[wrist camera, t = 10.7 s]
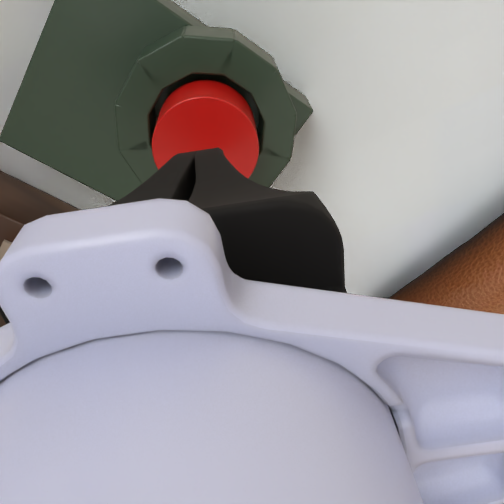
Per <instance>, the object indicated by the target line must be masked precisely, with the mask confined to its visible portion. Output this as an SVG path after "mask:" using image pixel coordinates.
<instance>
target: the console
mask: <svg viewBox="0 0 504 504" xmlns="http://www.w3.org/2000/svg"><path fill="white" fill-rule="evenodd" d="M72 211H79V209H77V208H75V207H73V206H71V205H69V204H67V203H65V202H63V201H61V200H59V199H57V198H55V197H53V196H51V195H49V194H47V193H44V192H42V191H40V190H38V189H36V188H34V187H32V186H30V185H28V184H26V183H24V182H22V181H20V180H18V179H16V178H14V177H12V176H10V175H8V174H6V173H4V172H2V171H0V261H1V259H2V258H3V256H4V255H5V253H6V252H7V250H8V249H9V247H10V246H11V244H12V242H13V241H14V239H15V238H16V236H17V235H18V233H19V232H20V230H21V229H22V227H23V226H24V225H25V224H28V223H30V222H32V221H35V220H37V219H39V218H42V217H44V216H46V215H52V214H59V213H65V212H72ZM4 325H6V323H5V321H4V320H3V318H2V316H1V315H0V327H2V326H4Z"/></svg>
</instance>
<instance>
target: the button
mask: <svg viewBox="0 0 504 504" xmlns="http://www.w3.org/2000/svg"><path fill="white" fill-rule="evenodd" d="M217 147H219V148H220V149H222V150H223V152H224V155H225V157H226V158H227V160H228V161H229V162H230V163H231V164H232V165H233V166H234V167H235V168H236V169H237V170H238V171H239V172H240V173H241V174H242V175H244V176H245V177H246V178H249V177H250V176H251V174H252V172H253V171H254V169H255V166H256V164H257V160H258V155H259V142H258V136H257V130H256V125H255V120H254V116H253V113H252V111H251V108H250V106H249V105H248V103H247V101H246V100H245V99H244V98H243V96H242V95H241V94H240V93H239V92H237V91H236V90H235V89H233V88H232V87H230V86H228V85H226V84H224V83H221V82H217V81H212V80H198V81H193V82H189V83H186V84H184V85H182V86H180V87H179V88H177V89H176V90H175V91H173V92H172V93H171V94H170V95H169V96H168V98H167V99H166V100H165V102H164V104H163V106H162V108H161V110H160V113H159V117H158V120H157V123H156V126H155V129H154V133H153V137H152V154H153V158H154V161H155V164H156V166H157V168H158V170H159V169H160V168H161V167H162V166H163V165H164V164H165V163H166V162H167V161H169V160H170V159H171V158H172V157H173V156H174V155H176V154H178V153H185V152H191V151H198V150H204V149H211V148H217Z"/></svg>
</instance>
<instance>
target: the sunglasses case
mask: <svg viewBox="0 0 504 504" xmlns="http://www.w3.org/2000/svg"><path fill="white" fill-rule="evenodd" d="M389 299H393V300H400V301H408V302H415V303H423V304H430V305H438V306H445V307H452V308H460V309H467V310H475V311H482V312H489V313H497V314H504V214H502V215H501V216H500V217H498V218H497V219H496V220H495V221H493V222H492V223H491V224H489V225H488V226H487V227H486V228H484V229H483V230H482V231H480V232H479V233H478V234H477V235H475V236H474V237H473V238H472V239H470V240H469V241H467V242H466V243H464V244H463V245H461V246H460V247H458V248H457V249H455V250H454V251H453V252H451V253H450V254H449V255H447V256H446V257H444V258H443V259H442V260H440V261H439V262H438V263H436V264H435V265H434V266H432V267H431V268H430V269H428V270H427V271H426V272H424V273H423V274H422V275H420V276H419V277H418V278H416V279H415V280H413V281H412V282H410V283H409V284H408V285H406V286H405V287H403V288H402V289H400V290H399V291H398V292H396V293H395V294H394V295H393V296H391V297H390V298H389Z"/></svg>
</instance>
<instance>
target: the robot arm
mask: <svg viewBox="0 0 504 504" xmlns="http://www.w3.org/2000/svg"><path fill="white" fill-rule="evenodd" d="M0 315H1V316H2V318H3V320H4V321H5V323H6V325H4V326H2V327H0V504H504V314H497V313H489V312H482V311H475V310H467V309H460V308H452V307H445V306H438V305H430V304H423V303H415V302H408V301H400V300H393V299H386V298H378V297H371V296H363V295H356V294H349V293H347V291H346V289H345V279H344V248H343V242H342V237H341V234H340V232H339V229H338V227H337V225H336V223H335V221H334V220H333V218H332V216H331V215H330V213H329V212H328V210H327V209H326V207H325V206H324V205H323V203H322V202H321V201H320V199H319V198H318V197H317V195H316V194H315V193H314V192H290V191H283V190H277V189H272V188H269V187H266V186H263V185H260V184H258V183H255V182H253V181H252V180H250V179H248V178H246V177H245V176H244V175H242V174H241V173H240V172H239V171H238V170H237V169H236V168H235V167H234V166H233V165H232V164H231V163H230V162H229V161H228V160H227V158H226V157H225V155H224V152H223V150H222V149H220V148H219V147H217V148H211V149H204V150H198V151H191V152H185V153H178V154H176V155H174V156H173V157H172V158H171V159H170V160H169V161H167V162H166V163H165V164H164V165H163V166H162V167H161V168H160V169H159V170H158V171H157V172H156V173H154V174H153V175H152V176H151V177H150V178H149V179H147V180H146V181H145V182H144V183H142V184H141V185H140V186H139V187H137V188H136V189H135V190H133V191H132V192H131V193H129V194H128V195H126V196H125V197H123V198H121V199H120V200H118V201H116V202H115V203H113V204H111V205H109V206H105V207H99V208H92V209H85V210H79V211H72V212H65V213H59V214H52V215H46V216H44V217H42V218H39V219H37V220H35V221H32V222H30V223H28V224H25V225H24V226H23V227H22V229H21V230H20V232H19V233H18V235H17V236H16V238H15V239H14V241H13V242H12V244H11V246H10V247H9V249H8V250H7V252H6V253H5V255H4V256H3V258H2V259H1V261H0Z"/></svg>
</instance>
